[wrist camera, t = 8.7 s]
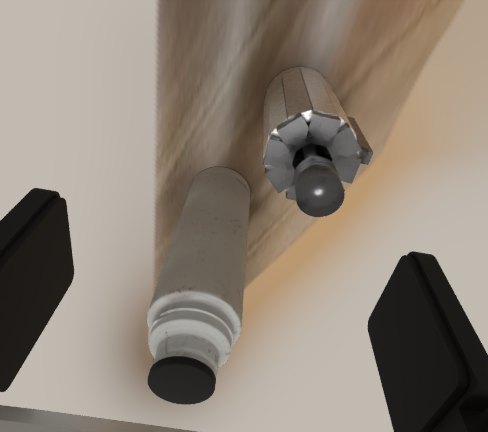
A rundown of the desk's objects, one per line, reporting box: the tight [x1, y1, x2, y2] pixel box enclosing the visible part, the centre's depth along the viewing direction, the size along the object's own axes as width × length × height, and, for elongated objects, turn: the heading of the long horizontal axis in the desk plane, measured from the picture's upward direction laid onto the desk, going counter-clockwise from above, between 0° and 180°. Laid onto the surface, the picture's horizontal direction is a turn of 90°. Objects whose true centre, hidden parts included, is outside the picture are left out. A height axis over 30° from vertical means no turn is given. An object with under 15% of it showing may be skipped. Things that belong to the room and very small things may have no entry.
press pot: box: [263, 66, 373, 200], centre depth 37 cm, size 8×10×16 cm
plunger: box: [294, 143, 344, 217], centre depth 34 cm, size 5×5×18 cm
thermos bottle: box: [147, 167, 250, 404], centre depth 39 cm, size 8×8×28 cm
